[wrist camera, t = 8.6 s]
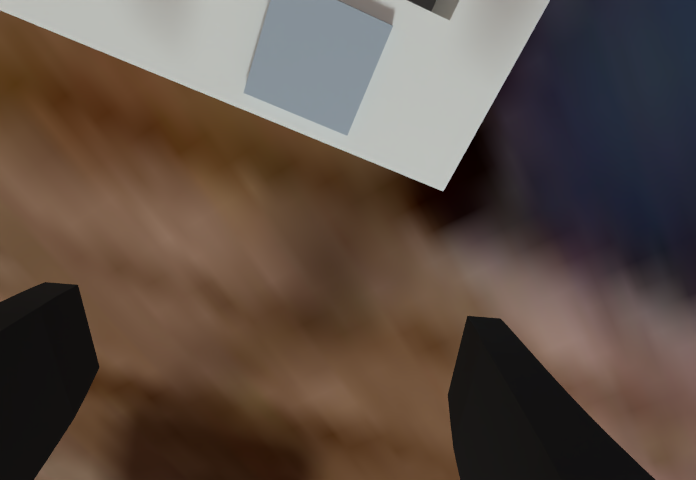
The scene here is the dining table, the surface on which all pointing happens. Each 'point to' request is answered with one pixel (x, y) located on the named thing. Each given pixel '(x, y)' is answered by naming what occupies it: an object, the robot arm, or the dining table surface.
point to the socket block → (323, 63)
